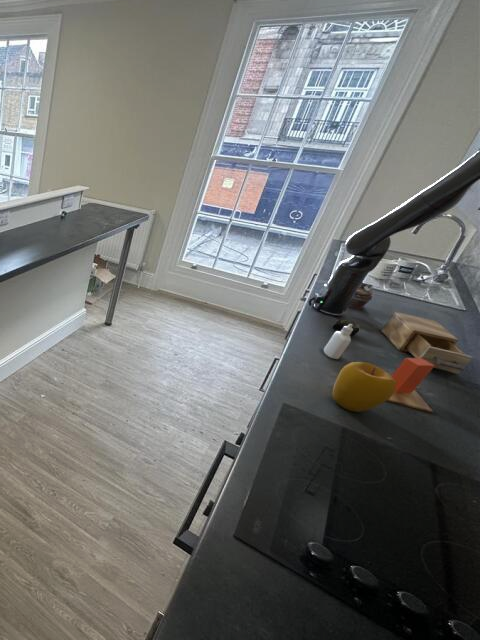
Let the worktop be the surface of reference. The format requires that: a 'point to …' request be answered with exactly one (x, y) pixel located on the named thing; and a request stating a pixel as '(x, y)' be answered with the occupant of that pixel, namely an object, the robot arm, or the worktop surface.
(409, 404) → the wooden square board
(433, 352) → the drawer
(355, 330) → the tape measure
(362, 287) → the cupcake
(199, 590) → the worktop surface
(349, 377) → the apple
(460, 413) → the worktop surface
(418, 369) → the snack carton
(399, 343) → the cabinet
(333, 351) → the eye dropper bottle
